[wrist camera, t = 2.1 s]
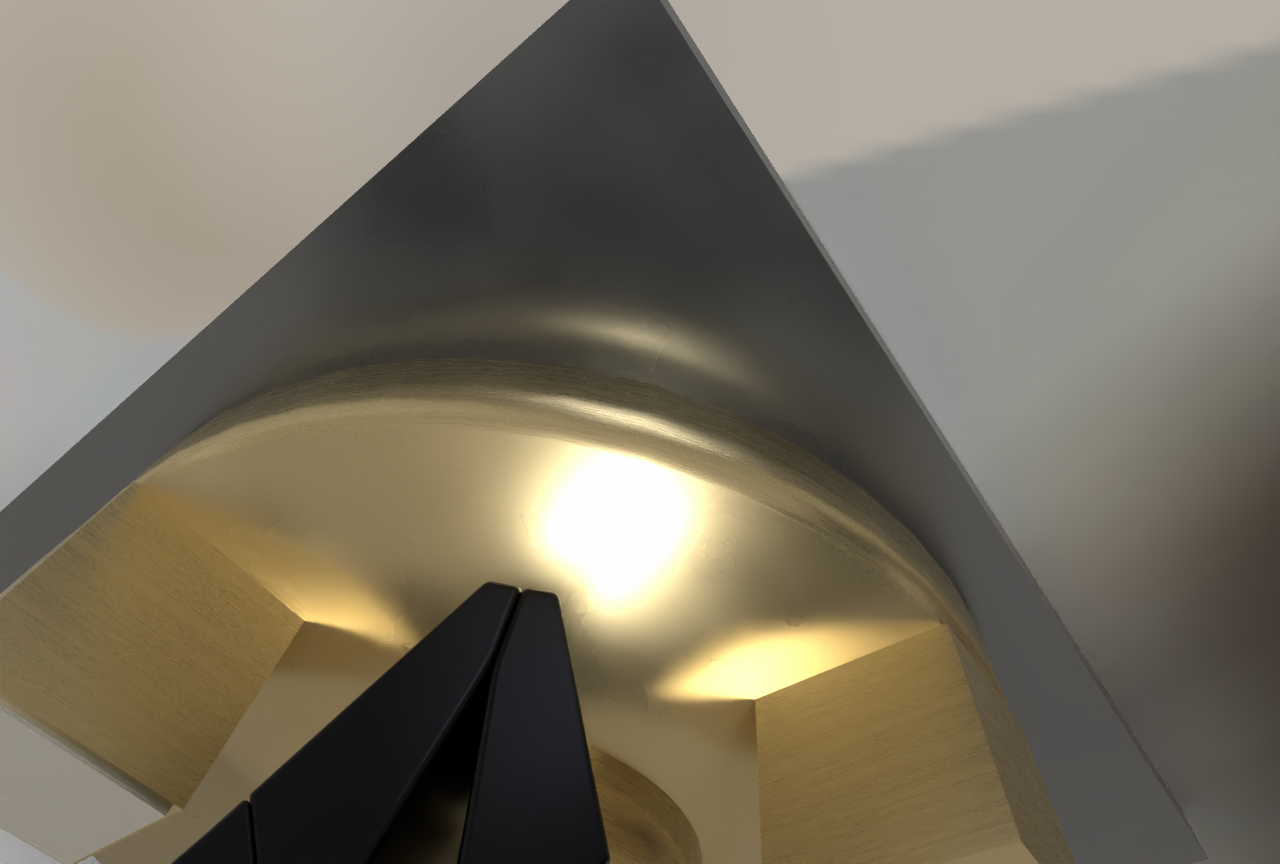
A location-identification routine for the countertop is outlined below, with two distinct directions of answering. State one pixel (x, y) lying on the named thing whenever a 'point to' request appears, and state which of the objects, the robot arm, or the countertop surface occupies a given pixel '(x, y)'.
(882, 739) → the brass lugged disc
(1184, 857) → the plate
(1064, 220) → the countertop surface
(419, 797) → the robot arm
